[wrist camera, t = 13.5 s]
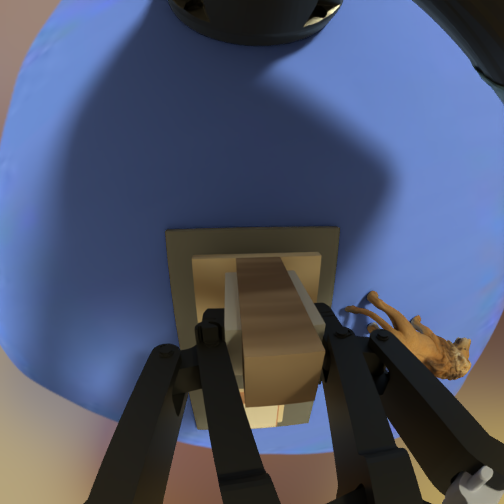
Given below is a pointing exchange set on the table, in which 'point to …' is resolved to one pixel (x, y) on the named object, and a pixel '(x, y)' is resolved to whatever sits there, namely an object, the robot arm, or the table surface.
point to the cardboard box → (268, 321)
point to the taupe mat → (243, 242)
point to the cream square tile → (261, 415)
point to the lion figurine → (421, 341)
